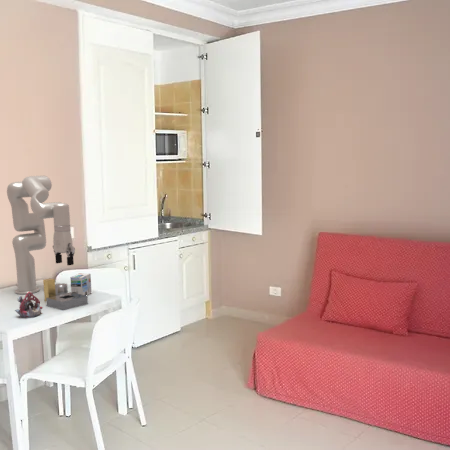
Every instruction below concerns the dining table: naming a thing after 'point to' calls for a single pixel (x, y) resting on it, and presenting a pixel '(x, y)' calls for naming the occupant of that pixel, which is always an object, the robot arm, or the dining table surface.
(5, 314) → the dining table surface
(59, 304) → the bore block
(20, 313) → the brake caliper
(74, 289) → the light bulb box
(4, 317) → the dining table surface
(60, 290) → the round bit
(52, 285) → the square bit
